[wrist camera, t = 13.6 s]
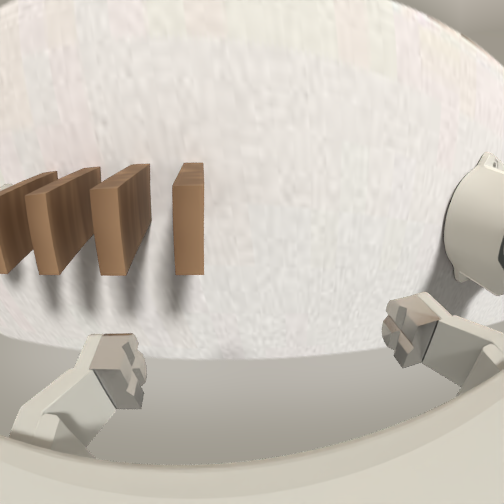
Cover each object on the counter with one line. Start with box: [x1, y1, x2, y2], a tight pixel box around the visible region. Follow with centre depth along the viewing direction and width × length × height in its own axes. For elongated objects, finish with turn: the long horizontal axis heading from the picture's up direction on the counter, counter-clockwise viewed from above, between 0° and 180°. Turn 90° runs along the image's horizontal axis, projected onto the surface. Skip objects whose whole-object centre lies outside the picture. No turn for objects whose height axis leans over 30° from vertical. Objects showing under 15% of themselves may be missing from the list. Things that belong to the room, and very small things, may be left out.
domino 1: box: [0, 171, 58, 274], centre depth 17 cm, size 2×5×10 cm, turn 177°
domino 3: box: [90, 164, 152, 276], centre depth 19 cm, size 2×5×10 cm, turn 177°
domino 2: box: [25, 167, 101, 275], centre depth 18 cm, size 2×5×10 cm, turn 177°
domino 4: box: [172, 163, 204, 275], centre depth 20 cm, size 2×5×10 cm, turn 177°
